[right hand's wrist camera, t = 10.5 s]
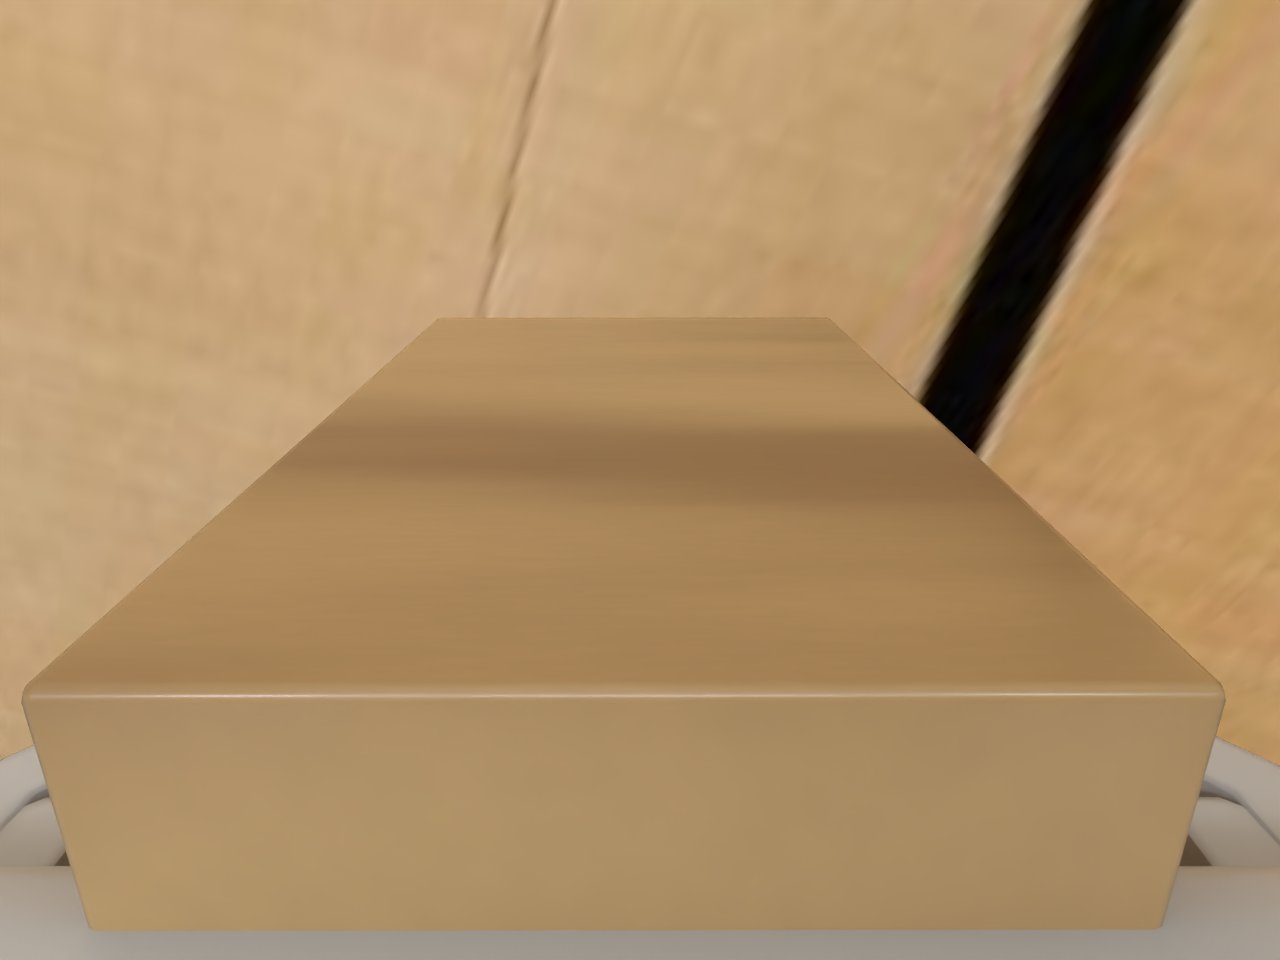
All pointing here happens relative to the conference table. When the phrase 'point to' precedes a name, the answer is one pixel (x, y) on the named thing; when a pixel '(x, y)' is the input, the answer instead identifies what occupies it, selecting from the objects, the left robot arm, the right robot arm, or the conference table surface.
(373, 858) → the bar
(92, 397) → the conference table surface
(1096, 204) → the conference table surface
